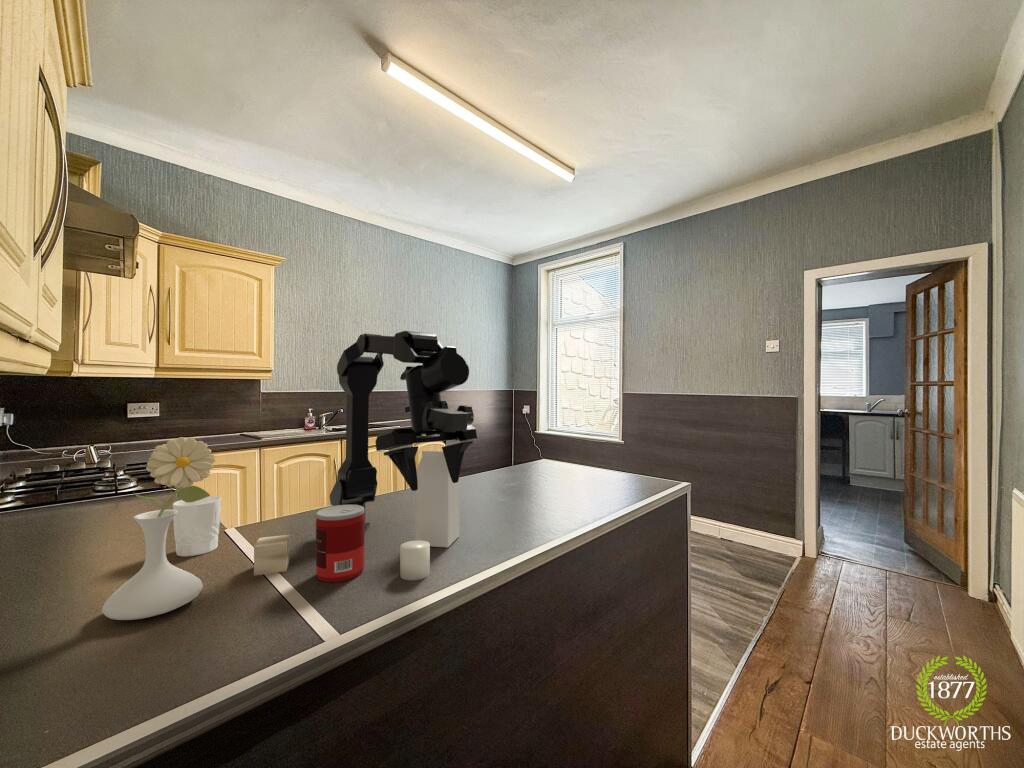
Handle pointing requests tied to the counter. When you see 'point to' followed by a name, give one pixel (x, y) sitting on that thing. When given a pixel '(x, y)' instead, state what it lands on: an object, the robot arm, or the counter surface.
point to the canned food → (340, 542)
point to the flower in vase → (163, 536)
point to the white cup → (197, 526)
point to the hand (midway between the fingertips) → (436, 486)
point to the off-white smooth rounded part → (414, 560)
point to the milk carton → (436, 501)
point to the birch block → (271, 554)
